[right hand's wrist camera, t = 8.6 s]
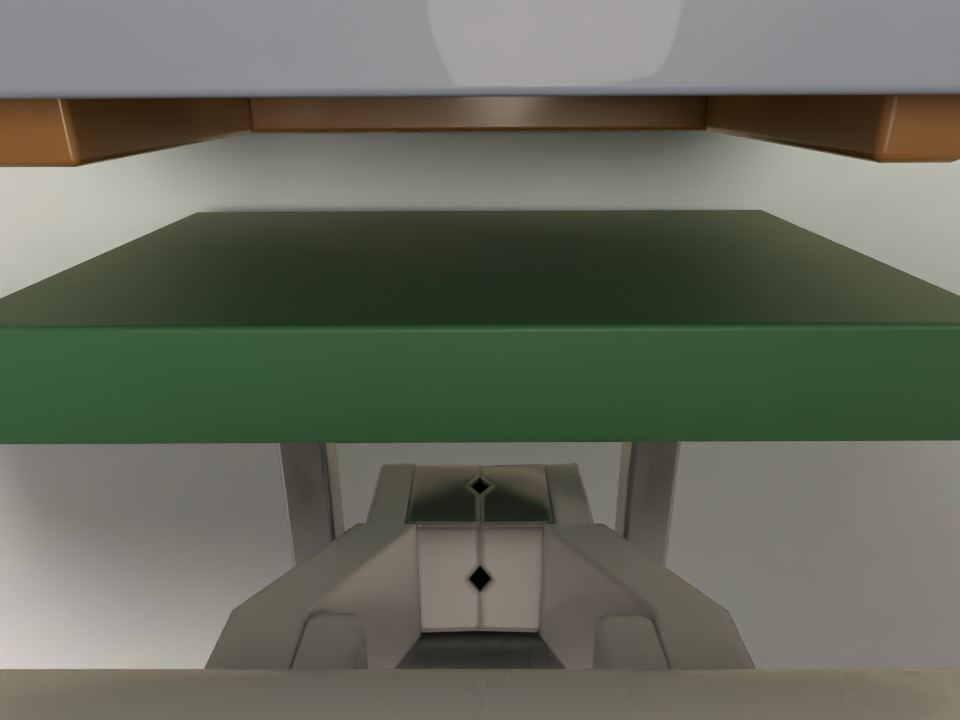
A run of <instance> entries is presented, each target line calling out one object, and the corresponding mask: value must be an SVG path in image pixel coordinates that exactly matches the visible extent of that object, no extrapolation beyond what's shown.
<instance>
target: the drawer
mask: <svg viewBox="0 0 960 720" xmlns="http://www.w3.org/2000/svg"><path fill="white" fill-rule="evenodd" d="M542 131H711V132H717V133H722V134H728V135H733V136H738V137H744V138H749V139H754V140H760V141H765V142H771V143H776V144H781V145H787V146H792V147H798V148H803V149H808V150H814V151H819V152H824V153H830V154H835V155H841V156H846V157H851V158H857V159H862V160H868V161H873V162H878V163H918V162H953V161H956V160H959V159H960V94H932V95H724V96H515V97H307V98H99V99H0V167H77V166H82V165H87V164H92V163H97V162H103V161H108V160H113V159H118V158H123V157H128V156H134V155H139V154H144V153H149V152H154V151H159V150H165V149H170V148H175V147H180V146H185V145H190V144H196V143H201V142H206V141H211V140H216V139H221V138H227V137H232V136H237V135H242V134H247V133H329V132H542ZM914 440H960V296H958V295H956V294H954V293H951V292H949V291H947V290H944V289H942V288H940V287H937V286H935V285H933V284H930V283H928V282H926V281H924V280H921V279H919V278H917V277H914V276H912V275H910V274H907V273H905V272H903V271H900V270H898V269H896V268H894V267H891V266H889V265H887V264H884V263H882V262H880V261H877V260H875V259H873V258H870V257H868V256H866V255H863V254H861V253H859V252H857V251H854V250H852V249H850V248H847V247H845V246H843V245H840V244H838V243H836V242H833V241H831V240H829V239H827V238H824V237H822V236H820V235H817V234H815V233H813V232H810V231H808V230H806V229H803V228H801V227H799V226H796V225H794V224H792V223H790V222H787V221H785V220H783V219H780V218H778V217H776V216H773V215H771V214H769V213H766V212H764V211H762V210H659V211H437V212H216V213H195V214H193V215H190V216H188V217H186V218H183V219H181V220H179V221H177V222H174V223H172V224H170V225H167V226H165V227H163V228H161V229H158V230H156V231H154V232H151V233H149V234H147V235H145V236H142V237H140V238H138V239H136V240H133V241H131V242H129V243H126V244H124V245H122V246H120V247H117V248H115V249H113V250H110V251H108V252H106V253H104V254H101V255H99V256H97V257H94V258H92V259H90V260H88V261H85V262H83V263H81V264H78V265H76V266H74V267H72V268H69V269H67V270H65V271H62V272H60V273H58V274H56V275H53V276H51V277H49V278H47V279H44V280H42V281H40V282H37V283H35V284H33V285H31V286H28V287H26V288H24V289H21V290H19V291H17V292H15V293H12V294H10V295H8V296H5V297H3V298H1V299H0V444H153V443H277V446H278V454H279V461H280V468H281V476H282V483H283V491H284V498H285V506H286V513H287V521H288V528H289V535H290V543H291V550H292V558H293V565H294V567H295V566H297V565H298V564H300V563H301V562H303V561H304V560H306V559H307V558H308V557H310V556H311V555H313V554H314V553H316V552H317V551H318V550H320V549H321V548H323V547H324V546H326V545H327V544H328V543H330V542H331V541H333V540H334V539H336V538H337V537H339V536H340V535H341V534H343V533H344V524H343V514H342V503H341V493H340V483H339V472H338V462H337V452H336V443H406V442H622V452H621V464H620V476H619V488H618V499H617V511H616V523H615V532H616V533H617V534H619V535H620V536H621V537H623V538H624V539H626V540H627V541H629V542H630V543H631V544H633V545H634V546H636V547H637V548H639V549H640V550H641V551H643V552H644V553H646V554H647V555H649V556H650V557H651V558H653V559H654V560H656V561H657V562H659V563H660V564H661V565H663V566H664V567H665V566H666V558H667V550H668V541H669V533H670V525H671V517H672V509H673V501H674V492H675V484H676V476H677V468H678V460H679V452H680V444H681V441H914ZM394 669H566V668H565V667H564V665H563V664H562V663H561V662H560V660H559V659H558V658H557V657H556V655H555V654H554V653H553V652H552V650H551V649H550V648H549V647H548V645H547V644H546V643H545V642H544V640H543V639H542V638H541V637H540V635H539V632H506V631H453V632H421V636H420V637H419V638H418V640H417V641H416V642H415V643H414V645H413V646H412V647H411V648H410V650H409V651H408V652H407V653H406V655H405V656H404V657H403V658H402V660H401V661H400V662H399V663H398V665H397V666H396V667H395V668H394Z"/></svg>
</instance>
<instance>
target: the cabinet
mask: <svg viewBox="0 0 960 720" xmlns="http://www.w3.org/2000/svg"><path fill="white" fill-rule="evenodd" d="M932 94H960V0H0V99H99V98H307V97H515V96H724V95H932Z"/></svg>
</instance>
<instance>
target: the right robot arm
mask: <svg viewBox="0 0 960 720" xmlns="http://www.w3.org/2000/svg"><path fill="white" fill-rule="evenodd" d="M453 631H506V632H539V635H540V637H541V638H542V639H543V640H544V642H545V643H546V644H547V645H548V647H549V648H550V649H551V650H552V652H553V653H554V654H555V655H556V657H557V658H558V659H559V660H560V662H561V663H562V664H563V665H564V667H565V668H566V669H394V668H395V667H396V666H397V665H398V663H399V662H400V661H401V660H402V658H403V657H404V656H405V655H406V653H407V652H408V651H409V650H410V648H411V647H412V646H413V645H414V643H415V642H416V641H417V640H418V638H419V637H420V636H421V632H453ZM0 720H960V669H756V668H755V666H754V664H753V662H752V660H751V658H750V656H749V654H748V651H747V649H746V647H745V645H744V643H743V641H742V639H741V637H740V635H739V633H738V630H737V628H736V626H735V624H734V622H733V620H732V618H731V616H730V614H729V612H728V611H727V610H726V609H724V608H723V607H721V606H720V605H718V604H717V603H716V602H714V601H713V600H711V599H710V598H709V597H707V596H706V595H704V594H703V593H701V592H700V591H699V590H697V589H696V588H694V587H693V586H691V585H690V584H689V583H687V582H686V581H684V580H683V579H681V578H680V577H679V576H677V575H676V574H674V573H673V572H671V571H670V570H669V569H667V568H666V567H664V566H663V565H661V564H660V563H659V562H657V561H656V560H654V559H653V558H651V557H650V556H649V555H647V554H646V553H644V552H643V551H641V550H640V549H639V548H637V547H636V546H634V545H633V544H631V543H630V542H629V541H627V540H626V539H624V538H623V537H621V536H620V535H619V534H617V533H616V532H614V531H613V530H611V529H610V528H609V527H607V526H606V525H604V524H594V521H593V518H592V514H591V510H590V507H589V503H588V499H587V495H586V492H585V488H584V484H583V481H582V477H581V473H580V469H579V466H578V465H577V464H576V463H569V464H545V465H544V464H535V465H494V466H480V465H442V464H417V465H415V464H414V463H412V464H384V465H383V466H382V467H381V469H380V472H379V476H378V480H377V484H376V487H375V491H374V495H373V499H372V502H371V506H370V510H369V514H368V518H367V521H366V524H356V525H354V526H353V527H351V528H350V529H349V530H347V531H346V532H344V533H343V534H341V535H340V536H339V537H337V538H336V539H334V540H333V541H331V542H330V543H328V544H327V545H326V546H324V547H323V548H321V549H320V550H318V551H317V552H316V553H314V554H313V555H311V556H310V557H308V558H307V559H306V560H304V561H303V562H301V563H300V564H298V565H297V566H295V567H294V568H293V569H291V570H290V571H288V572H287V573H285V574H284V575H283V576H281V577H280V578H278V579H277V580H275V581H274V582H273V583H271V584H270V585H268V586H267V587H265V588H264V589H263V590H261V591H260V592H258V593H257V594H255V595H254V596H252V597H251V598H250V599H248V600H247V601H245V602H244V603H242V604H241V605H240V606H238V607H237V608H235V609H234V610H232V612H231V614H230V616H229V619H228V621H227V623H226V625H225V627H224V629H223V631H222V633H221V635H220V637H219V639H218V641H217V643H216V645H215V648H214V650H213V652H212V654H211V656H210V658H209V660H208V662H207V664H206V666H205V668H204V669H0Z"/></svg>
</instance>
